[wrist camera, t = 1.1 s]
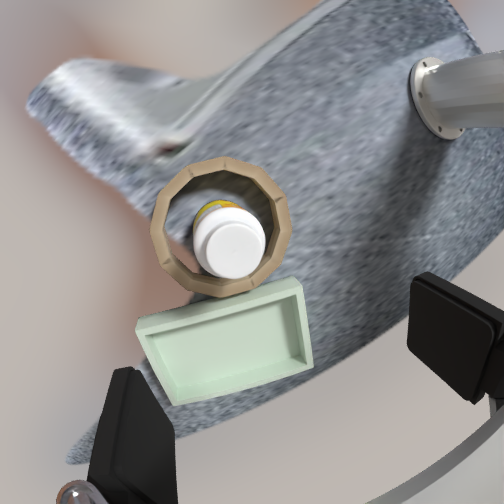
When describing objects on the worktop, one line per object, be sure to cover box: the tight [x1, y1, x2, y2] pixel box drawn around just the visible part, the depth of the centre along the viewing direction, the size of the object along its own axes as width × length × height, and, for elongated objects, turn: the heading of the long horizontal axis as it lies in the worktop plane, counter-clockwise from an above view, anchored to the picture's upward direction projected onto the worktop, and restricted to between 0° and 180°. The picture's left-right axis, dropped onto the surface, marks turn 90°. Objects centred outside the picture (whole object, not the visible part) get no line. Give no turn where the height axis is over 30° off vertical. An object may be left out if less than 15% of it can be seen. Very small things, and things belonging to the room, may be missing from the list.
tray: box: [135, 276, 314, 406], centre depth 32 cm, size 18×12×3 cm, turn 103°
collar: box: [150, 156, 292, 298], centre depth 28 cm, size 13×13×2 cm
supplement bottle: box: [193, 200, 265, 279], centre depth 25 cm, size 6×6×10 cm
